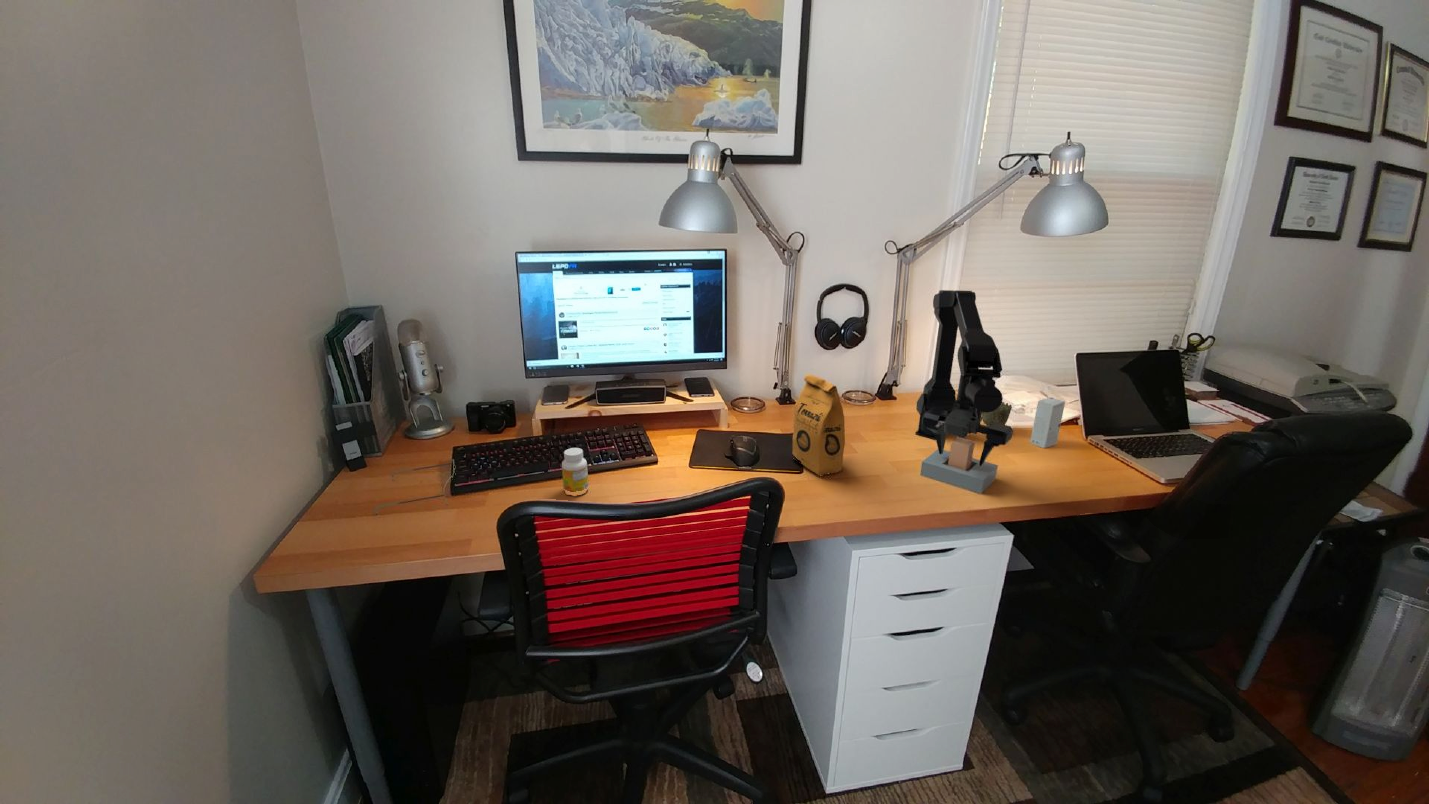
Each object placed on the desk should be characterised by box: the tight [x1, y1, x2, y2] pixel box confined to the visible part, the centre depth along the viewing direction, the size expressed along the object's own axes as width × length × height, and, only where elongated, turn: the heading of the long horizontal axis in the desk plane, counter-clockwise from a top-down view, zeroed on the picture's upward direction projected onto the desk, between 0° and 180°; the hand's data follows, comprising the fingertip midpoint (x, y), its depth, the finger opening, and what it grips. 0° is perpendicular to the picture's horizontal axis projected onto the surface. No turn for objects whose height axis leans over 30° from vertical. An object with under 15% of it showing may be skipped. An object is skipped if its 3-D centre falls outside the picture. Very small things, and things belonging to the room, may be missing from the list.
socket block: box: [919, 448, 999, 495], centre depth 140 cm, size 14×10×4 cm
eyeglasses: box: [373, 458, 456, 514], centre depth 131 cm, size 16×15×5 cm
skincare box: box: [1030, 397, 1066, 449], centre depth 158 cm, size 6×4×12 cm
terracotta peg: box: [948, 436, 976, 471], centre depth 139 cm, size 4×4×9 cm
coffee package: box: [791, 373, 846, 476], centre depth 142 cm, size 10×12×22 cm
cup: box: [982, 401, 1013, 427], centre depth 166 cm, size 8×7×8 cm
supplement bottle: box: [561, 447, 589, 492], centre depth 131 cm, size 5×5×10 cm
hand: (960, 459), depth 139 cm, fingers open, 9 cm apart
